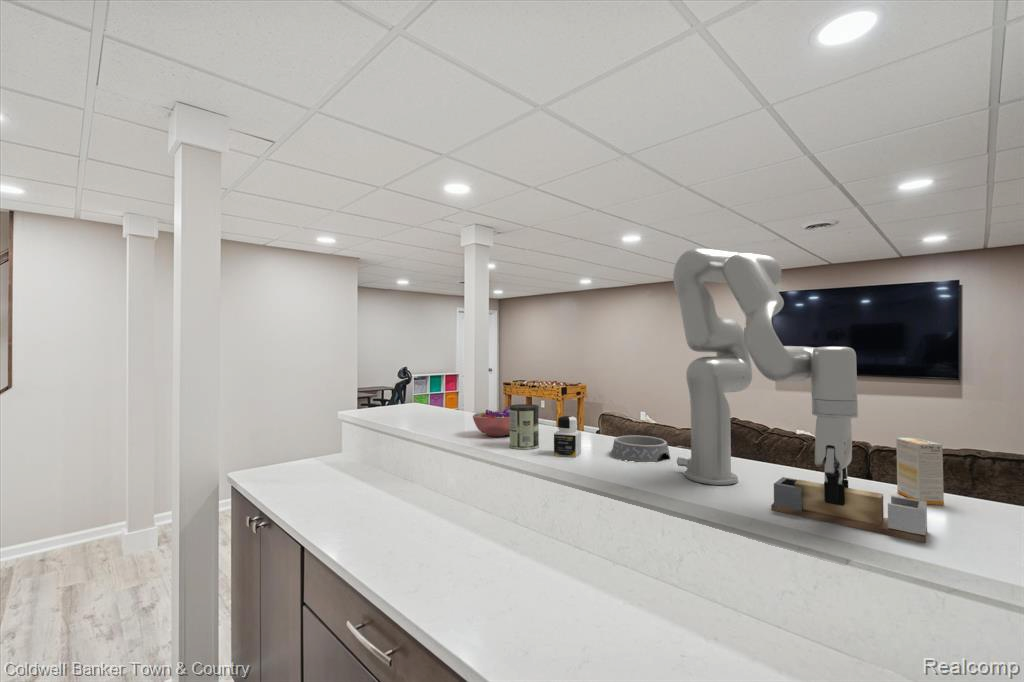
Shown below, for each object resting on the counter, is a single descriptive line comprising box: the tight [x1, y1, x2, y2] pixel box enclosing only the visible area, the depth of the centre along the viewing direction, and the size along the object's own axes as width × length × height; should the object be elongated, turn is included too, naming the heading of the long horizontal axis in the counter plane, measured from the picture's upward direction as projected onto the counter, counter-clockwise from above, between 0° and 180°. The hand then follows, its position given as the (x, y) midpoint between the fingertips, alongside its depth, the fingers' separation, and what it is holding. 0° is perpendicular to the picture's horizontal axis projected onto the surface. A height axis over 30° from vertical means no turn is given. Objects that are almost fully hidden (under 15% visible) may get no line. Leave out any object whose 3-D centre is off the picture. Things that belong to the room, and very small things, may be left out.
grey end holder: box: [773, 476, 803, 511], centre depth 97 cm, size 5×7×4 cm
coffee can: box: [508, 403, 540, 451], centre depth 160 cm, size 10×10×14 cm
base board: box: [770, 502, 928, 544], centre depth 91 cm, size 24×7×1 cm, turn 46°
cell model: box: [472, 405, 510, 437], centre depth 180 cm, size 17×20×11 cm
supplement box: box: [895, 437, 945, 506], centre depth 104 cm, size 8×5×13 cm, turn 168°
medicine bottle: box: [553, 415, 582, 458], centre depth 148 cm, size 7×7×12 cm
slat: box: [794, 479, 885, 525], centre depth 91 cm, size 14×4×5 cm, turn 46°
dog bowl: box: [610, 434, 671, 463], centre depth 146 cm, size 17×18×5 cm
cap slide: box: [887, 495, 928, 535], centre depth 84 cm, size 5×7×4 cm
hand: (836, 500), depth 91 cm, fingers open, 3 cm apart
